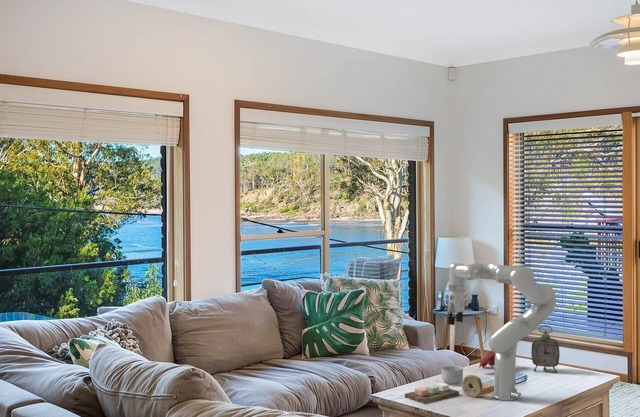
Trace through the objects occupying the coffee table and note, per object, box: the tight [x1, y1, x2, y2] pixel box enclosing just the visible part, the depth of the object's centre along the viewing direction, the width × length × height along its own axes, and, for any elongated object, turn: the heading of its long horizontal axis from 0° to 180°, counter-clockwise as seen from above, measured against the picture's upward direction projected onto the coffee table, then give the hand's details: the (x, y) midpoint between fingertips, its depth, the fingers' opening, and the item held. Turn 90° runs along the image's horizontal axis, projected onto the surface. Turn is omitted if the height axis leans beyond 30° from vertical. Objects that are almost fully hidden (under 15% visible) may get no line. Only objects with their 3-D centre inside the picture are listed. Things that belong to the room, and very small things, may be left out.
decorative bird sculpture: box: [478, 351, 495, 370], centre depth 384 cm, size 28×9×15 cm
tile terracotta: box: [414, 386, 428, 396], centre depth 327 cm, size 4×4×2 cm
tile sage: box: [425, 384, 439, 394], centre depth 331 cm, size 4×4×2 cm
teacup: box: [440, 364, 464, 385], centre depth 356 cm, size 14×11×8 cm
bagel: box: [461, 374, 484, 398], centre depth 332 cm, size 10×4×10 cm, turn 43°
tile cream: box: [435, 382, 450, 391], centre depth 335 cm, size 4×4×2 cm
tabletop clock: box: [530, 324, 560, 374], centre depth 381 cm, size 14×9×25 cm, turn 73°
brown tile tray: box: [404, 387, 460, 404], centre depth 331 cm, size 12×24×2 cm, turn 127°
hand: (455, 323), depth 344 cm, fingers open, 9 cm apart
